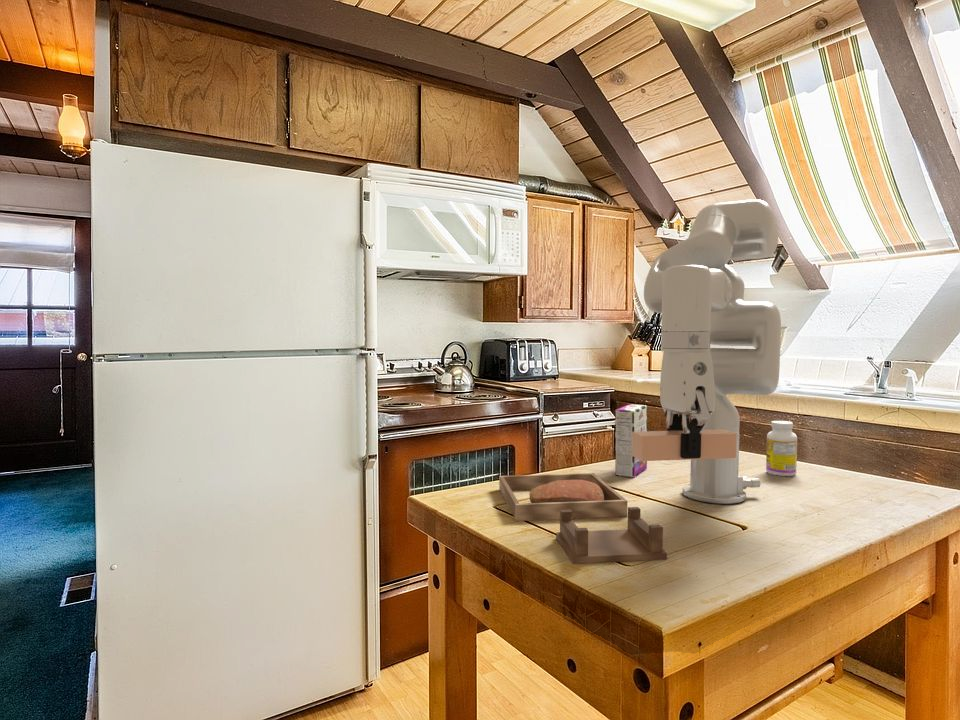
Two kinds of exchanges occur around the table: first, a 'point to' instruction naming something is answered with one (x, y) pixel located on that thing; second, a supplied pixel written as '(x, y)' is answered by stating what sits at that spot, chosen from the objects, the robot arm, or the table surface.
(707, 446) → the tan pink long block
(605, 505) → the low wooden frame
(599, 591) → the table surface
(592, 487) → the ceramic shard
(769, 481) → the table surface
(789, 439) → the supplement bottle
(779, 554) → the table surface
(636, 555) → the rack
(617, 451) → the candy bar box
